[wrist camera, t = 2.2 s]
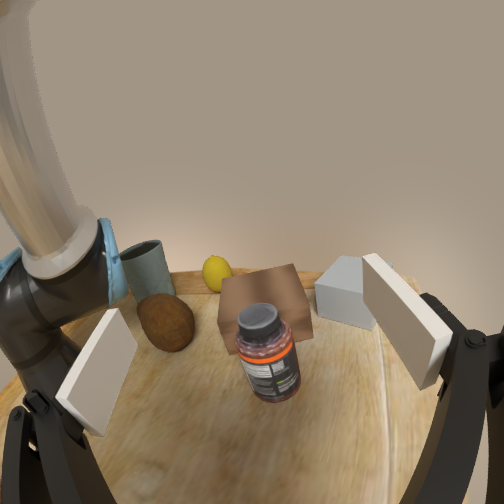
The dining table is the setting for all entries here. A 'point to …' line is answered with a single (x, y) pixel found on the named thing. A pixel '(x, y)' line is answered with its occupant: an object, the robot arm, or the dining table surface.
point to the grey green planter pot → (146, 269)
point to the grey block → (344, 293)
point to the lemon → (216, 272)
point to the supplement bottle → (267, 352)
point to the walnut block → (264, 301)
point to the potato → (166, 321)
